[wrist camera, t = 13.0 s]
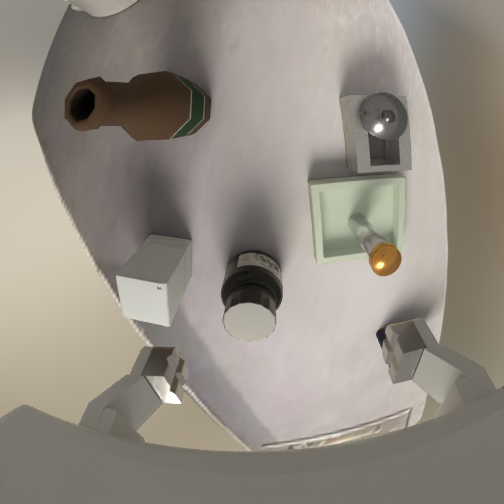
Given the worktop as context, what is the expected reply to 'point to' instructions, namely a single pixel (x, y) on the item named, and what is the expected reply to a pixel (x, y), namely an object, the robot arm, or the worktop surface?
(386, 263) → the pin
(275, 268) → the ink bottle
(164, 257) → the supplement box
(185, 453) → the robot arm
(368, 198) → the tray
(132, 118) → the beer bottle
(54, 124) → the worktop surface
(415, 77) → the worktop surface
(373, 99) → the block
